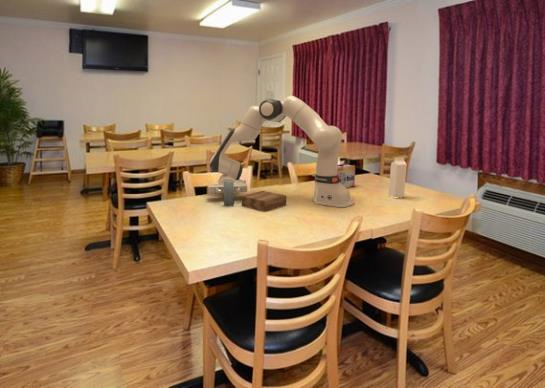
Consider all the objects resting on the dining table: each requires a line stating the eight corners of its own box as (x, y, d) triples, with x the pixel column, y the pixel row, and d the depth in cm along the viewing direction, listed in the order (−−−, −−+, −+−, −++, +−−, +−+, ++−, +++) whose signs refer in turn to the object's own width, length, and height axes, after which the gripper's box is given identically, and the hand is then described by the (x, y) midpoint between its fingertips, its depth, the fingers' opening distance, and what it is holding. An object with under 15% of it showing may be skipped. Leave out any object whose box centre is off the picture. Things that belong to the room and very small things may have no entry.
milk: (403, 198, 214) (407, 158, 209) (394, 198, 212) (397, 158, 207) (397, 195, 220) (401, 156, 214) (388, 196, 218) (391, 157, 213)
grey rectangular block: (236, 204, 198) (235, 181, 195) (228, 206, 194) (228, 183, 191) (229, 203, 201) (228, 180, 198) (221, 204, 197) (221, 181, 194)
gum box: (347, 184, 248) (348, 163, 245) (356, 186, 242) (357, 165, 239) (318, 188, 235) (319, 166, 232) (327, 191, 229) (328, 168, 226)
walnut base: (286, 205, 198) (286, 195, 197) (265, 211, 186) (265, 201, 185) (262, 199, 208) (262, 190, 207) (241, 205, 196) (241, 196, 195)
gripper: (207, 180, 209) (207, 186, 196) (245, 179, 212) (248, 184, 199) (207, 192, 210) (208, 198, 197) (245, 190, 214) (248, 196, 201)
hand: (228, 191), depth 198 cm, fingers open, 8 cm apart
